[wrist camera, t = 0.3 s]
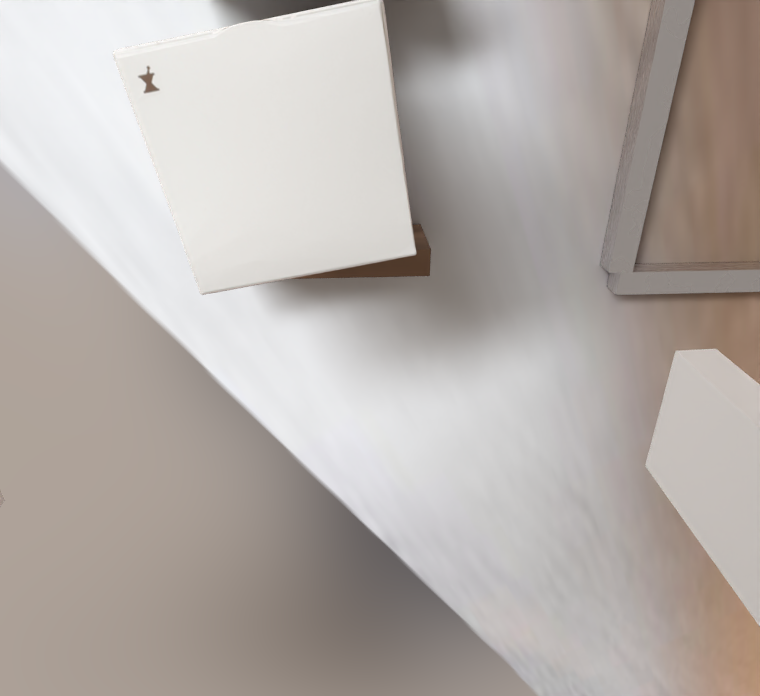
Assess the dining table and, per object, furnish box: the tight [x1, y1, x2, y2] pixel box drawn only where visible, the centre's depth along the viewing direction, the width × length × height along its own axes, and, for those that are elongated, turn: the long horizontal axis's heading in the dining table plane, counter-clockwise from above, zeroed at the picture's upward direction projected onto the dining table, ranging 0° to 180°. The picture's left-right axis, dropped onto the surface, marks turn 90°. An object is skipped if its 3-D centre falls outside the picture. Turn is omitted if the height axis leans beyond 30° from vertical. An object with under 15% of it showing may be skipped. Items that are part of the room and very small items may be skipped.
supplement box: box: [113, 0, 417, 295], centre depth 26 cm, size 9×9×15 cm
